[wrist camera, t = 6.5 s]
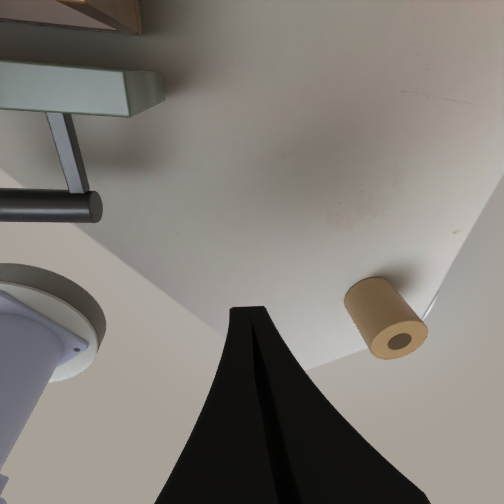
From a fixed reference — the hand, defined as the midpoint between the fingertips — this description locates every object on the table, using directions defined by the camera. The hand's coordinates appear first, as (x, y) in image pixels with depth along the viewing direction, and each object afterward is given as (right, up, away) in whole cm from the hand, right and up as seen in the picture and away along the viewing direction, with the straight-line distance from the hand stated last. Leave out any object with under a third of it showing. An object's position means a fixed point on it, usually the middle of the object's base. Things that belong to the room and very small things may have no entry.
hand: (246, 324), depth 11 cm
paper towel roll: (+11, -1, +14) cm, 17 cm away
